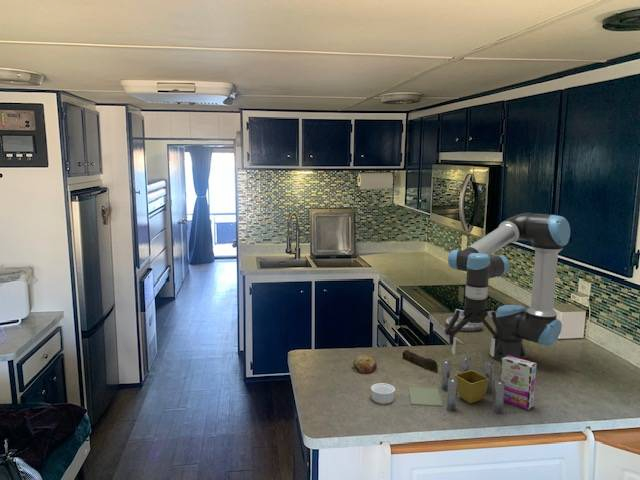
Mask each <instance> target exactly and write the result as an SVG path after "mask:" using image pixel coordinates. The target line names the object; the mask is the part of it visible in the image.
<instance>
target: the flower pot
mask: <svg viewBox="0 0 640 480" xmlns="http://www.w3.org/2000/svg"><path fill="white" fill-rule="evenodd" d="M454 378H456V379H457V380H458V383H457V394H458V395H459V397H460V398H461V399H462V400H463V401H466V402H467V403H468V404H473V403H474V404H475V403H476V402H480V401H482V400H483V398H484V397H485V395H486V393H487V392H486V391H487V386H488V381H489V379H488V378H487V377H485V376H484V375H483V374H481V373H479V372H477V371H475V370H472V369H470V371H467V372H463V373H461V372H459V373H456V374H454Z"/></svg>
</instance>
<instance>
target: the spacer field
mask: <svg viewBox="0 0 640 480" xmlns="http://www.w3.org/2000/svg"><path fill="white" fill-rule="evenodd" d="M451 365H452V362H451V360H450V359H443V360H441V378H440V379H441V380H440V389H441V390H443V391H447V395H446V396H447V397H446V399H447V400H446V401H447V402H446V410H447V411H449V412H456V411H457V402H458V401H457V398H458V395H457V394H458V392H457V383H458V380H457V379H456V378H455V377H451V369H452V368H451V367H452V366H451ZM460 370H461V371H460V373H463V372H467V371H470V370H471V357H469V356H462V357H461V367H460ZM494 371H495V363H494V362H492V361H485V362H484V375H483V376H485V377H487V378H488V379H489V381H488V386H487V391H486V393H493V394H494V395H493V409H492V410H493V413H495V414H497V415H501V414H504V413H503V412H504V403H505V402H504V389H505V382H504V381H502V380H500V379H496V380H495V381H494V373H495V372H494ZM493 384H494V385H493ZM493 387H494V388H493ZM493 389H494V392H493Z"/></svg>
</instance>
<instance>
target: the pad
mask: <svg viewBox="0 0 640 480" xmlns="http://www.w3.org/2000/svg"><path fill="white" fill-rule="evenodd" d="M408 393H409V401H410V405H411V406H423V407H424V406H425V407H426V406H427V407H443V403H442V400H441V396H440V395H441V394H440V393H439V388H428V387H411V386H410V387H408Z"/></svg>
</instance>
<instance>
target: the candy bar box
mask: <svg viewBox="0 0 640 480" xmlns="http://www.w3.org/2000/svg"><path fill="white" fill-rule="evenodd" d="M537 365H538V363H537V362H535V361H534V362H533V361H530V360H523V359H520V358H516V357H513V356H509V355H507V356H505V357H503V358H502V361H500V377H499V378H500V379H499V380H502V381H504V382H505V389H504V403H506V404H508V405H512V406H515V407H517V408H520V409H524V410H526V411H529V410H530V409H532V408H533V407H534V406H535V395H536V393H535V391H536V381H537V367H538V366H537Z"/></svg>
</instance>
